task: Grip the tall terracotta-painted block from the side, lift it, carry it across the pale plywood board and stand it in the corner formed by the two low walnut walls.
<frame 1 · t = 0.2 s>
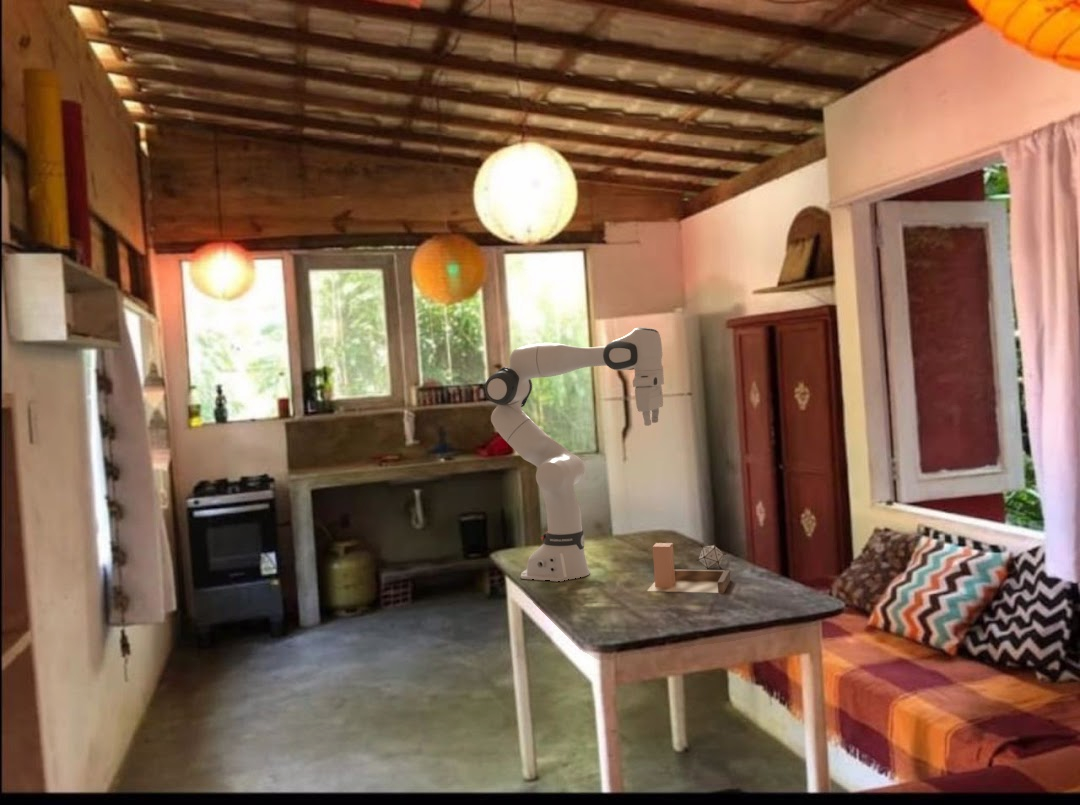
hand: (651, 424, 263), 48 cm above the table, tool pointing down, fingers open, 8 cm apart
game die: (711, 570, 270), on the table
terracotta block: (665, 585, 251), point 1 cm above the table, touching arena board
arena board: (689, 588, 248), on the table
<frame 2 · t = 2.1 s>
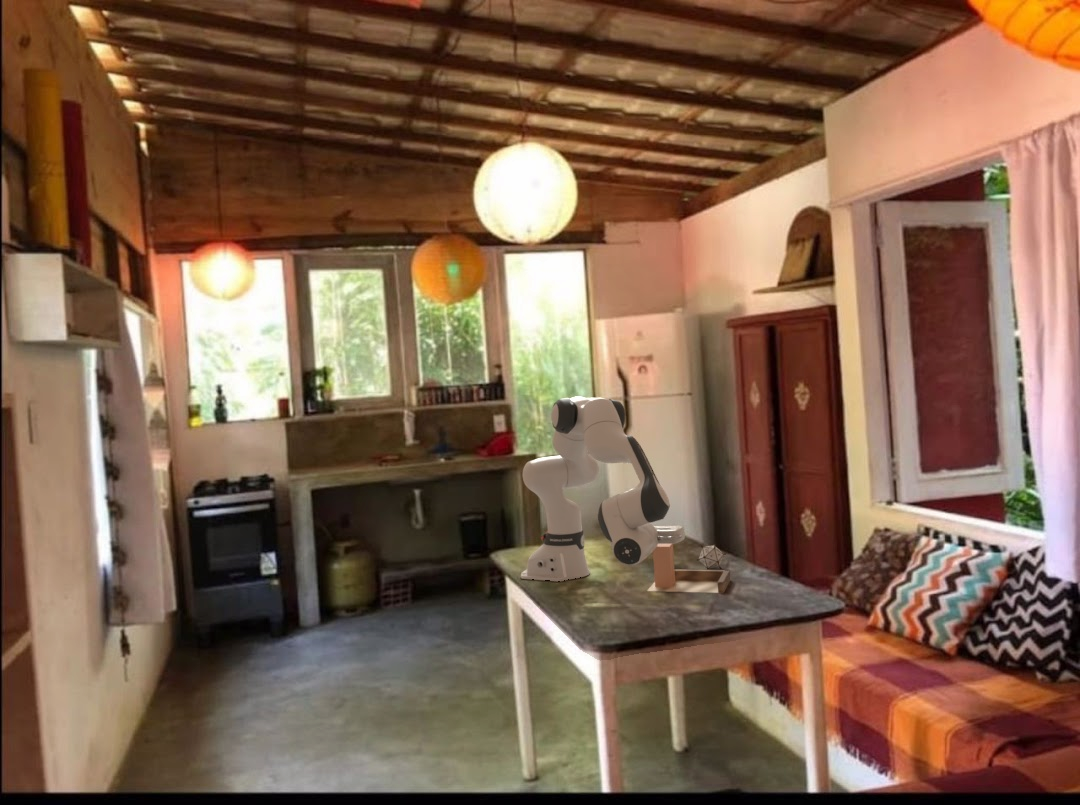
hand: (652, 529, 239), 20 cm above the table, tool horizontal, fingers open, 8 cm apart
nothing on the table moved.
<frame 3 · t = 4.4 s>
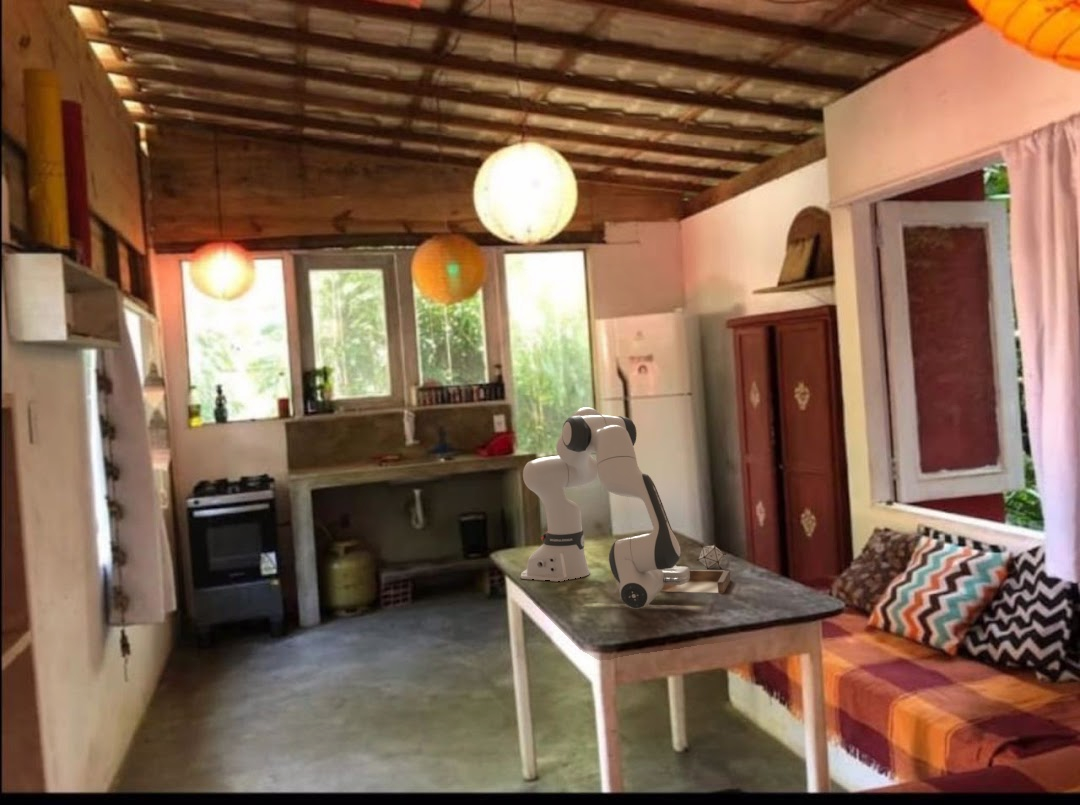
hand: (658, 567, 244), 8 cm above the table, tool horizontal, fingers open, 8 cm apart
nothing on the table moved.
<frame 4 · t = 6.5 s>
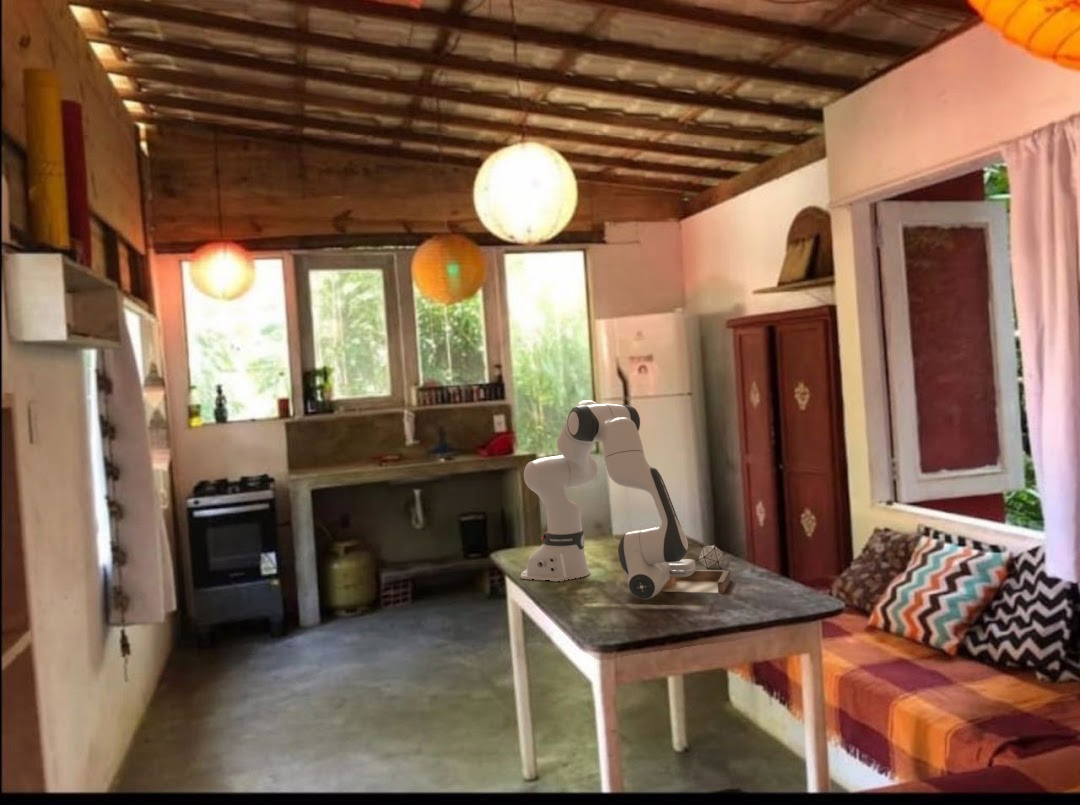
hand: (664, 560, 251), 8 cm above the table, tool horizontal, fingers closed on terracotta block, 5 cm apart
terracotta block: (665, 585, 251), point 1 cm above the table, touching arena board, gripper
everything else where it was.
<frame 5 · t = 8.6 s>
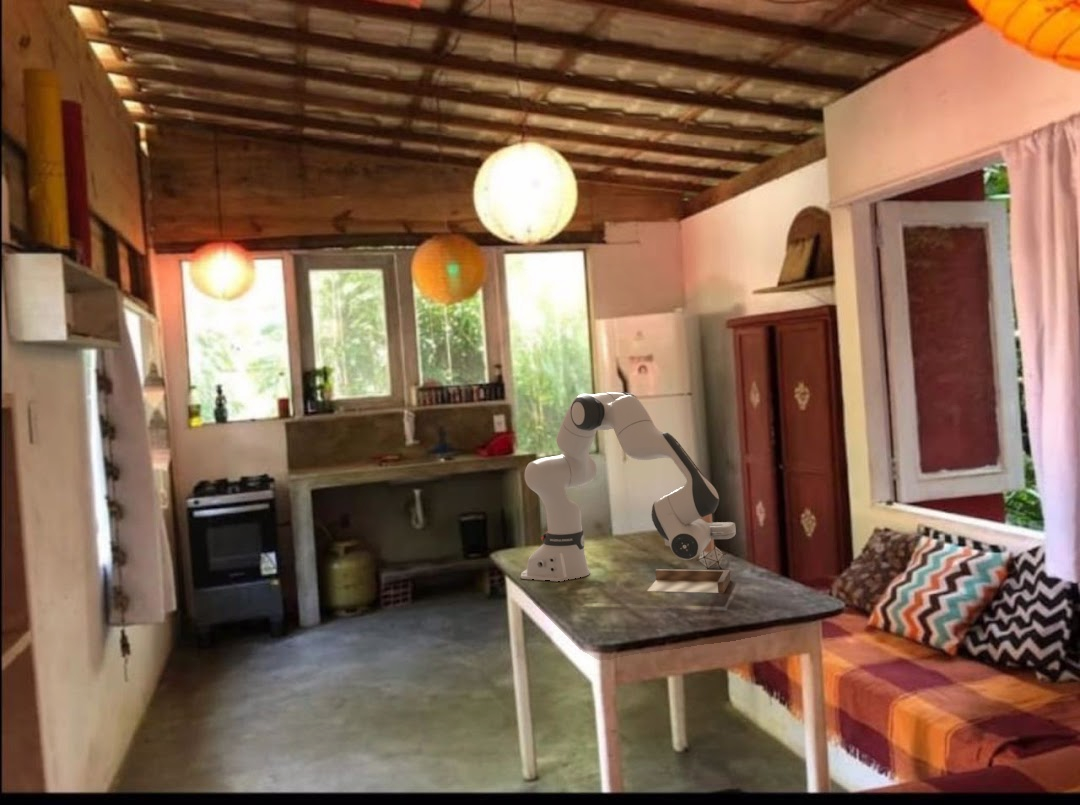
hand: (703, 525, 248), 18 cm above the table, tool horizontal, fingers closed on terracotta block, 5 cm apart
terracotta block: (704, 549, 247), point 11 cm above the table, touching gripper
everything else where it was.
when the fingers open (9 cm above the table, at t = 11.1 s): terracotta block drops 1 cm, resting on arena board.
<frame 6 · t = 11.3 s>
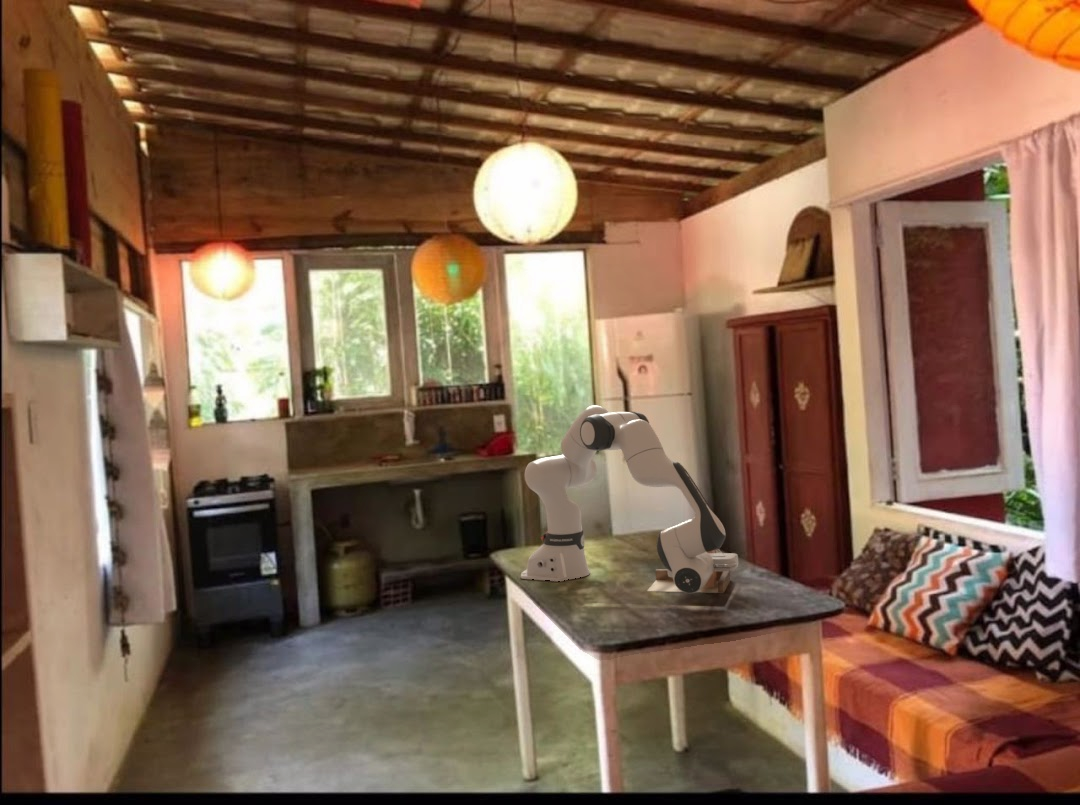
hand: (705, 555, 248), 9 cm above the table, tool horizontal, fingers open, 7 cm apart
terracotta block: (706, 584, 248), point 1 cm above the table, touching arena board
everything else where it was.
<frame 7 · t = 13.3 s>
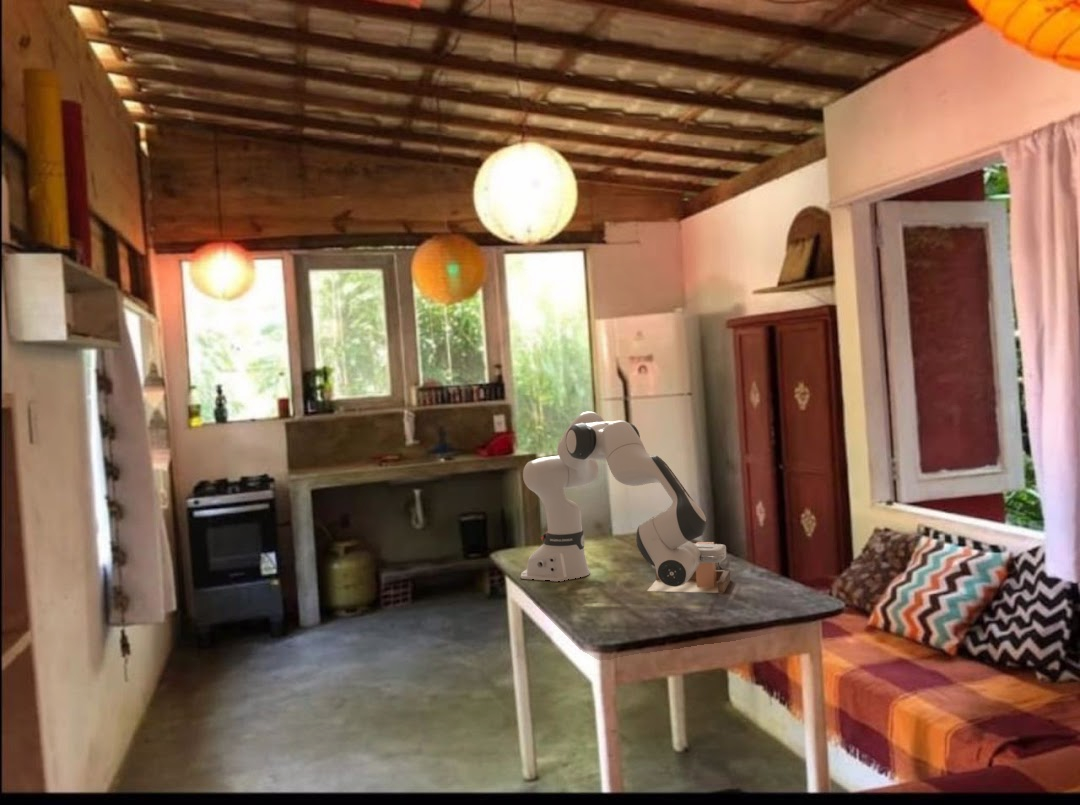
hand: (692, 545, 236), 15 cm above the table, tool horizontal, fingers open, 8 cm apart
nothing on the table moved.
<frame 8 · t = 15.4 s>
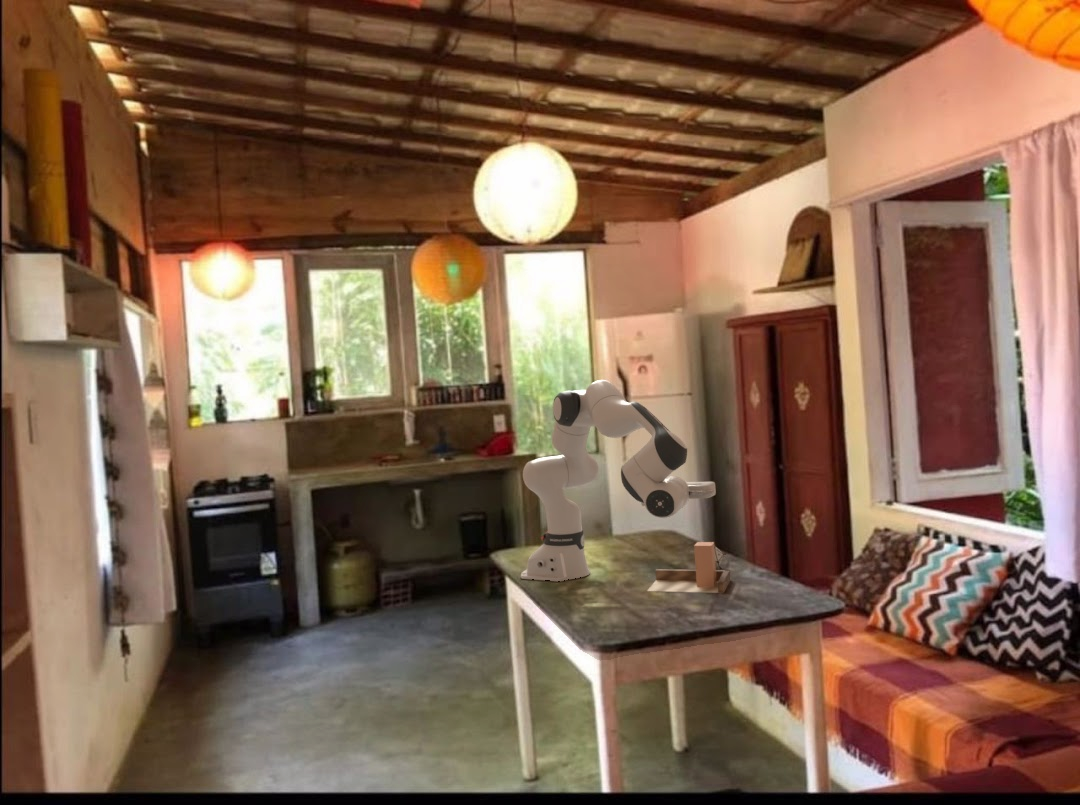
hand: (682, 485, 236), 32 cm above the table, tool horizontal, fingers open, 8 cm apart
nothing on the table moved.
at the end: terracotta block inside the target area (0.2 cm from its centre), point 1.0 cm above the table; terracotta block tilted 0°; the gripper is holding nothing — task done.
